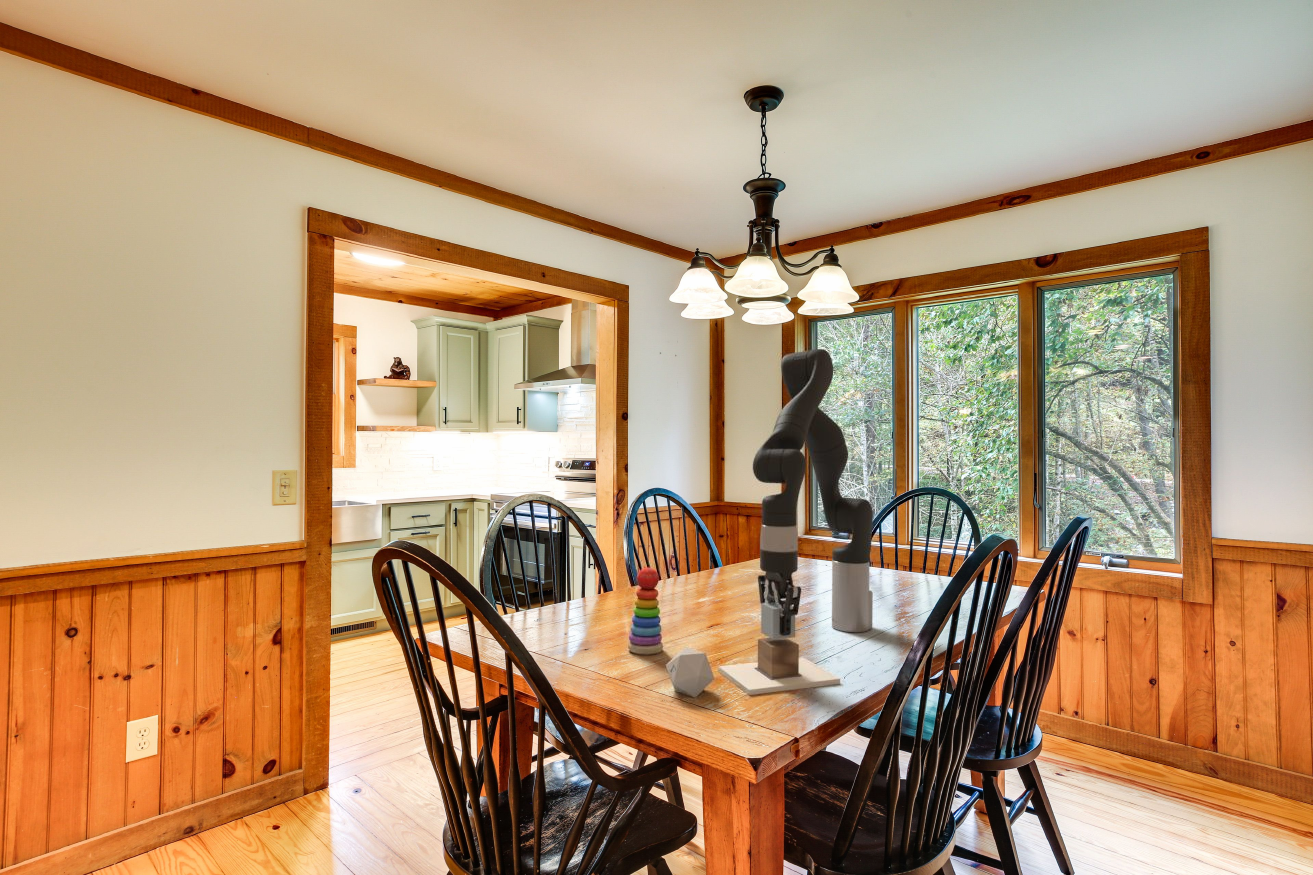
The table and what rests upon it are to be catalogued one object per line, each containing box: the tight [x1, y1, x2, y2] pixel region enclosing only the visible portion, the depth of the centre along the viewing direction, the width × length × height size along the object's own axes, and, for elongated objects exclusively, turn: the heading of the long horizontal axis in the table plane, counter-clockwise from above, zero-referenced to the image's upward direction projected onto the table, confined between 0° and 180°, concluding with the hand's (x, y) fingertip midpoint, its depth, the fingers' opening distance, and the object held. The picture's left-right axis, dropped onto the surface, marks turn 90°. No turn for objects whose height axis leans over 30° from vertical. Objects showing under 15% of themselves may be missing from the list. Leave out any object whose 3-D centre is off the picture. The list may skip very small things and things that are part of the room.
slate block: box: [760, 602, 796, 639], centre depth 140 cm, size 5×5×6 cm
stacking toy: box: [627, 567, 664, 656], centre depth 157 cm, size 8×8×19 cm
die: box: [665, 647, 715, 698], centre depth 131 cm, size 8×9×10 cm
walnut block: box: [757, 637, 800, 678], centre depth 140 cm, size 6×6×6 cm
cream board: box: [717, 656, 841, 696], centre depth 140 cm, size 20×14×1 cm
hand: (778, 630), depth 140 cm, fingers closed on slate block, 5 cm apart
